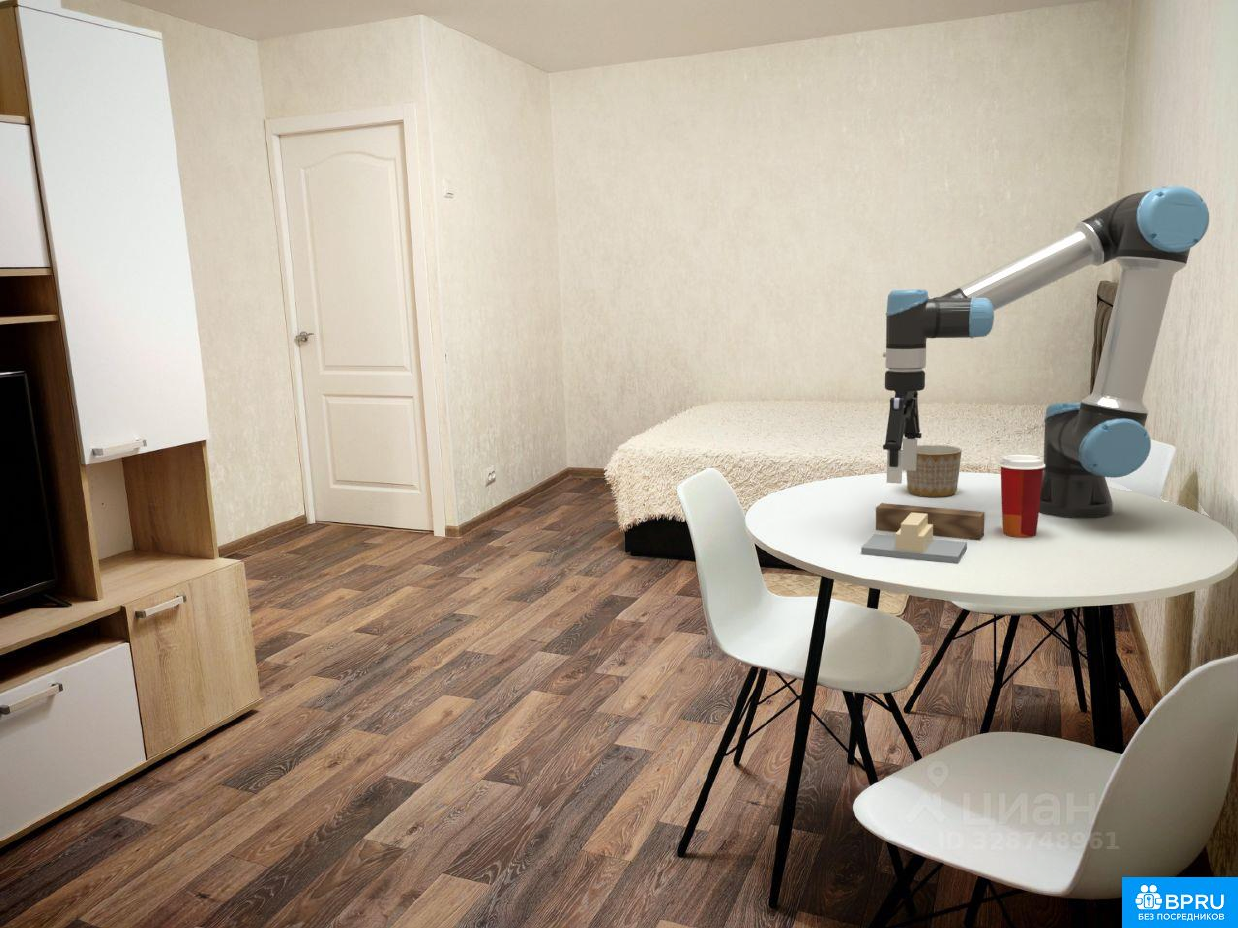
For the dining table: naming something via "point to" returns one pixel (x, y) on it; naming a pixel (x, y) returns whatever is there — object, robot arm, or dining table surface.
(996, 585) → the dining table surface
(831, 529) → the dining table surface
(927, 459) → the planter
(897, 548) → the fulcrum
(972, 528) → the bar
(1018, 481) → the coffee cup
